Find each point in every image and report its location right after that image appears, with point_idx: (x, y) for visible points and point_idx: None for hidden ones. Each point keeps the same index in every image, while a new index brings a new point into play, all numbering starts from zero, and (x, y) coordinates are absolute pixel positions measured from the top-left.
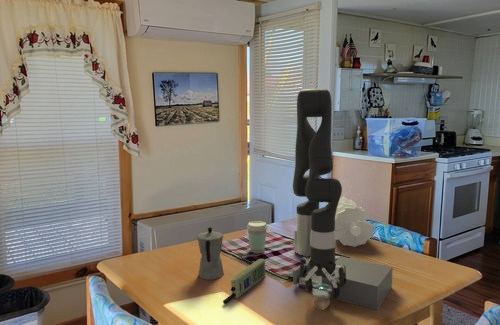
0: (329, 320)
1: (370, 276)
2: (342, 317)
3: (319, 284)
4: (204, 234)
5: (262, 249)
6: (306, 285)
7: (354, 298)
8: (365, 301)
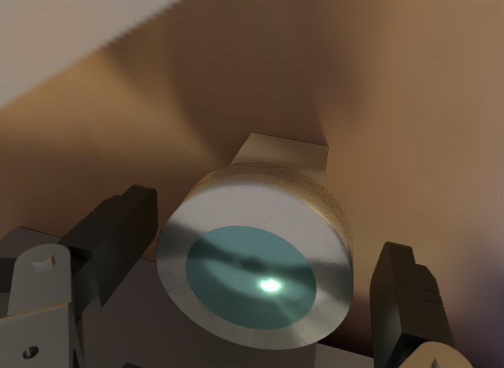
0: (170, 4)
1: None
2: (115, 87)
3: (293, 330)
4: None
5: None
6: (427, 298)
7: None
8: None
